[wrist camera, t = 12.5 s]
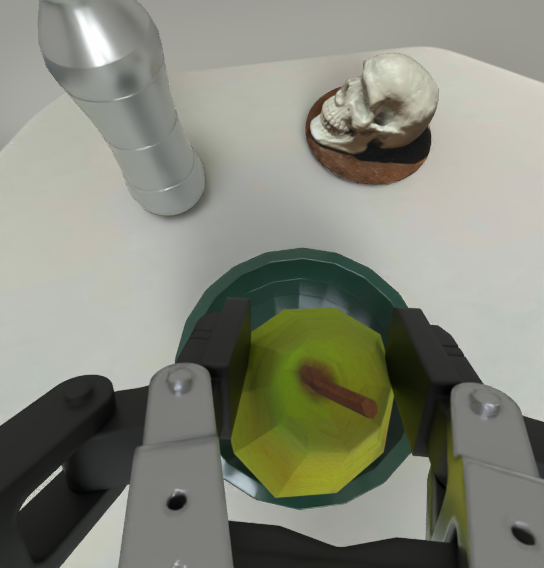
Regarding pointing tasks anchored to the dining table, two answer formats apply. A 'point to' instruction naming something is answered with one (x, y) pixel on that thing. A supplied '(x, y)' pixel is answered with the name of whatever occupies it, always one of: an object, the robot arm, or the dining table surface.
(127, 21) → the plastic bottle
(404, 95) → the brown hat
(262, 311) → the pot
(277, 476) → the fruit
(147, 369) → the dining table surface
